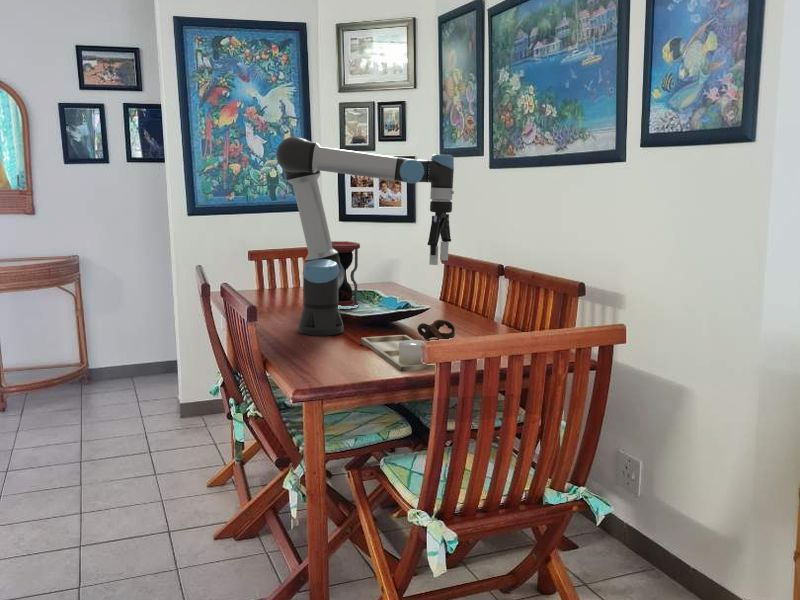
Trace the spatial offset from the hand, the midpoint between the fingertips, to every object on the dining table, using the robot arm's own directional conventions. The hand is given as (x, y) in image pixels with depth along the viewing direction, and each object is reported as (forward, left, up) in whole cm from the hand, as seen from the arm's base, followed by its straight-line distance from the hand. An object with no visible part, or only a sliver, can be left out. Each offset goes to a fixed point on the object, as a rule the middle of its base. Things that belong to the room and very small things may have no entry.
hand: (438, 262), depth 253 cm
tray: (-26, -35, -23) cm, 49 cm away
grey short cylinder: (-26, -43, -22) cm, 55 cm away
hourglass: (-23, +43, -23) cm, 54 cm away
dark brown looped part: (-10, -22, -23) cm, 33 cm away
